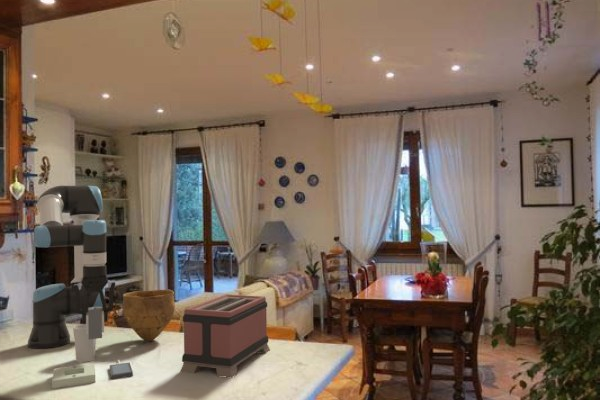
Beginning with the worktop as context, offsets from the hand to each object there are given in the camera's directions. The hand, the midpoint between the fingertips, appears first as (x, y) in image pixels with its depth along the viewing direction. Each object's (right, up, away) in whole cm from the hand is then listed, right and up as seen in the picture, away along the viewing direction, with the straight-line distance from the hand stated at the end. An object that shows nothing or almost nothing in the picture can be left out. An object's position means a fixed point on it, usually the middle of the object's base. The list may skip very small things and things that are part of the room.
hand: (95, 332), depth 168 cm
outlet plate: (-1, -11, -13) cm, 17 cm away
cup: (-7, -12, +7) cm, 15 cm away
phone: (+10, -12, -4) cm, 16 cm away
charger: (0, -2, 0) cm, 2 cm away
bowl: (+9, -12, +30) cm, 34 cm away
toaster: (+46, -12, +6) cm, 48 cm away
